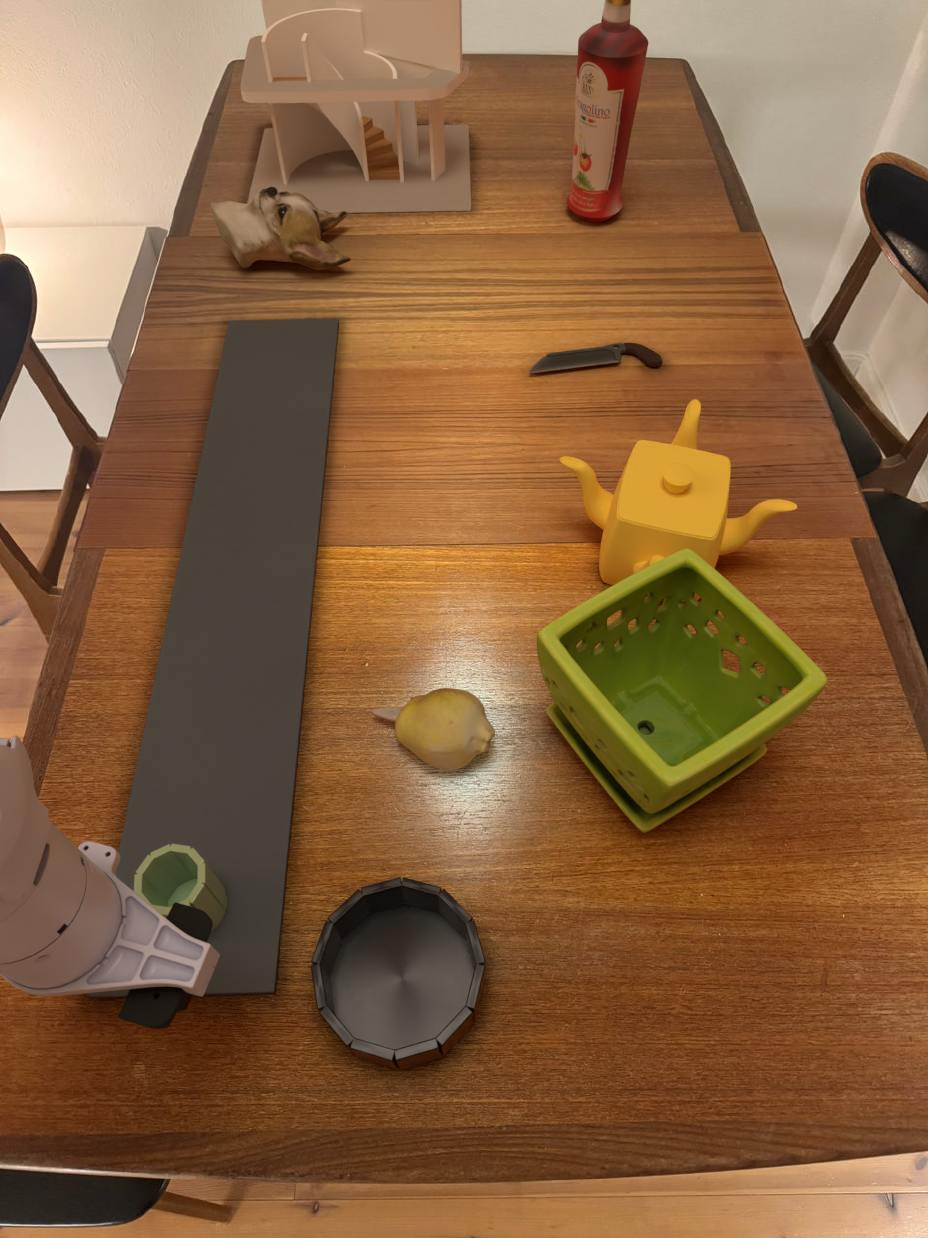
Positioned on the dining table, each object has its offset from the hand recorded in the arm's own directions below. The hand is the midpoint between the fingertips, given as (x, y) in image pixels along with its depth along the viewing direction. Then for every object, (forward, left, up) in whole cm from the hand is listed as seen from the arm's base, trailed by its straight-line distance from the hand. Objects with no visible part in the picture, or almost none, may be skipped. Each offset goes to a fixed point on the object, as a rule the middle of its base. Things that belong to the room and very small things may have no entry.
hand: (124, 970), depth 48 cm
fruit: (+23, -11, -10) cm, 27 cm away
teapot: (+46, -25, -10) cm, 53 cm away
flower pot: (+27, -27, -10) cm, 39 cm away
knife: (+69, -15, -10) cm, 71 cm away
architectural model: (+100, +21, -10) cm, 102 cm away
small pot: (+6, +1, -9) cm, 11 cm away
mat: (+34, +9, -10) cm, 36 cm away
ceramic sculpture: (+79, +23, -10) cm, 83 cm away
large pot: (+5, -14, -10) cm, 18 cm away
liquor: (+97, -10, -10) cm, 98 cm away
